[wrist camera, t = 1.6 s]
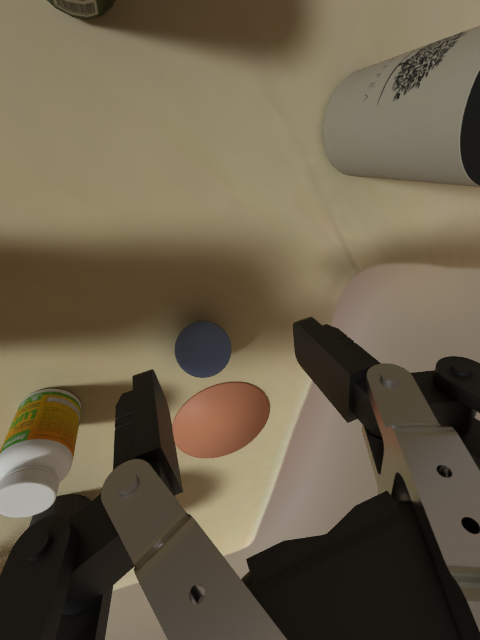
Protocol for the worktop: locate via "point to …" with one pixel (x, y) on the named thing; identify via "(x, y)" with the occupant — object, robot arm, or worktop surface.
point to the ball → (203, 349)
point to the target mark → (220, 420)
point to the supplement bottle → (38, 452)
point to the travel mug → (411, 116)
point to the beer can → (83, 7)
